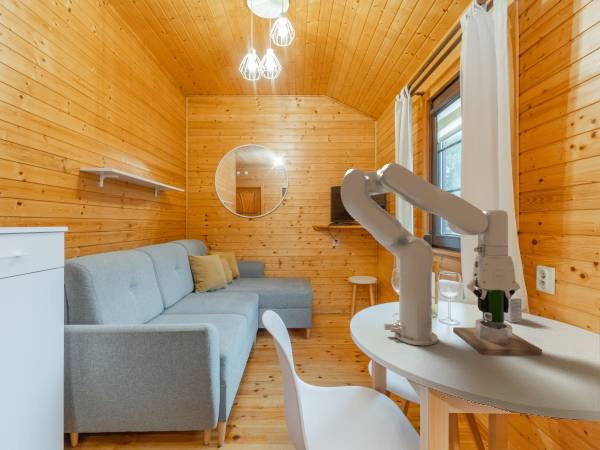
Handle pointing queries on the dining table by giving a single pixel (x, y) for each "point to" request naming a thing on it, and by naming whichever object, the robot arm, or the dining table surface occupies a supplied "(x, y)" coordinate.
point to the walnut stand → (485, 347)
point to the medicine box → (514, 310)
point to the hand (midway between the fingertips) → (493, 310)
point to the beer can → (494, 307)
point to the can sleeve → (494, 332)
